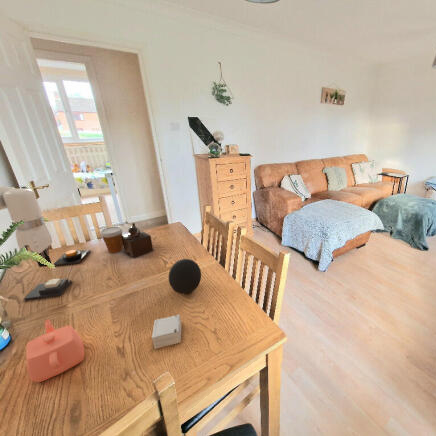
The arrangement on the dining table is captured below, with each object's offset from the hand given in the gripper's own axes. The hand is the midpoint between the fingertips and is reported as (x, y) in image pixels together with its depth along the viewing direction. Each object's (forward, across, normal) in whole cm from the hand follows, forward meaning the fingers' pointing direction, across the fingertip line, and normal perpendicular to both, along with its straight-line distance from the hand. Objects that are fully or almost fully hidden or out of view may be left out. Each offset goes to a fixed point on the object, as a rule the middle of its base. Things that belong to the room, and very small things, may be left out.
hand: (45, 265), depth 94 cm
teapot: (+11, +38, +19) cm, 44 cm away
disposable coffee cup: (+12, -30, +13) cm, 35 cm away
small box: (+11, +36, +48) cm, 61 cm away
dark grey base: (+12, +1, -1) cm, 12 cm away
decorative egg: (+11, +14, +52) cm, 55 cm away
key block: (+12, -25, -4) cm, 28 cm away
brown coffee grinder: (+12, -24, +26) cm, 37 cm away
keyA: (+9, +1, +1) cm, 9 cm away
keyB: (+10, -25, -4) cm, 27 cm away
